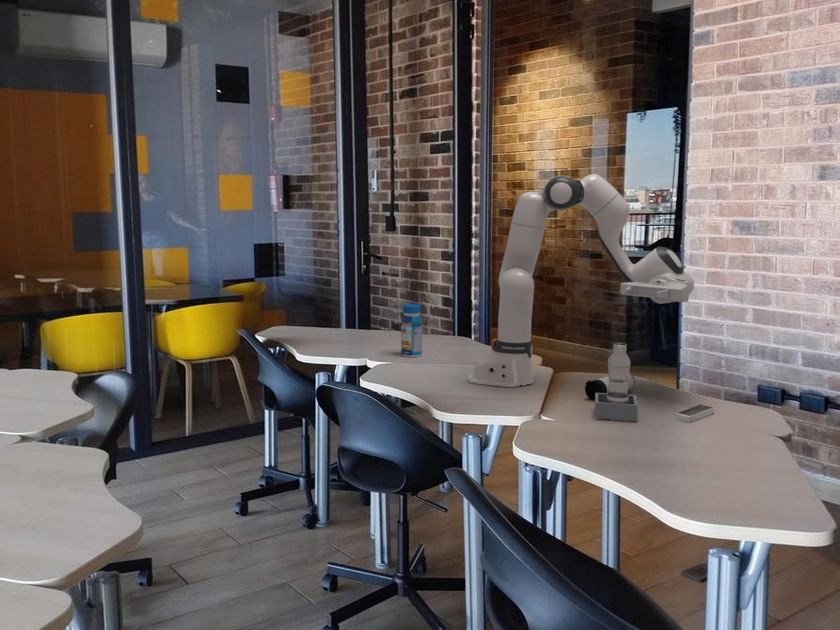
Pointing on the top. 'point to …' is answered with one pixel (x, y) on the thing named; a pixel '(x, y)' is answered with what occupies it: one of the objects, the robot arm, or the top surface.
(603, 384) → the travel mug
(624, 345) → the plastic bottle
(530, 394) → the top surface
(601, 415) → the gray open square bin
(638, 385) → the top surface
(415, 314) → the beverage bottle
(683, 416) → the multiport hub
